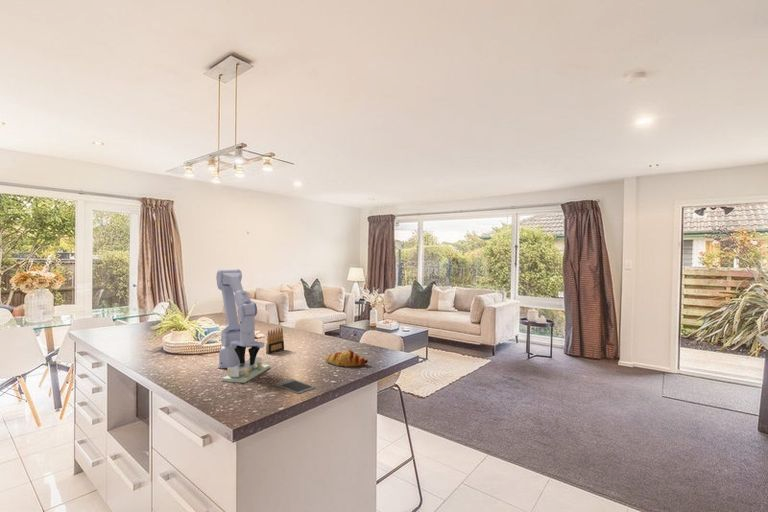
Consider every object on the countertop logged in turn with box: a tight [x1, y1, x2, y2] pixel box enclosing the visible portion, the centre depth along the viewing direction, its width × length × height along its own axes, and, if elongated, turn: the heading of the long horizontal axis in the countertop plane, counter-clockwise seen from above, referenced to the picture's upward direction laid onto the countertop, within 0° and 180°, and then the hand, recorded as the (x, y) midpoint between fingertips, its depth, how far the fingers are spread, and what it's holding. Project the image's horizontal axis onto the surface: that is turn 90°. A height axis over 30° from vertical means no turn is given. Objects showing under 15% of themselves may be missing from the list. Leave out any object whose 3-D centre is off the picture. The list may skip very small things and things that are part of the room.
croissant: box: [325, 349, 369, 368], centre depth 166 cm, size 21×10×8 cm, turn 72°
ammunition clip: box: [265, 327, 285, 355], centre depth 188 cm, size 11×2×12 cm, turn 150°
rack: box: [221, 362, 271, 384], centre depth 152 cm, size 10×20×4 cm, turn 169°
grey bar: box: [230, 356, 263, 377], centre depth 152 cm, size 18×5×3 cm, turn 169°
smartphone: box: [274, 378, 316, 395], centre depth 137 cm, size 15×8×1 cm, turn 50°
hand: (247, 364), depth 152 cm, fingers closed on grey bar, 4 cm apart
